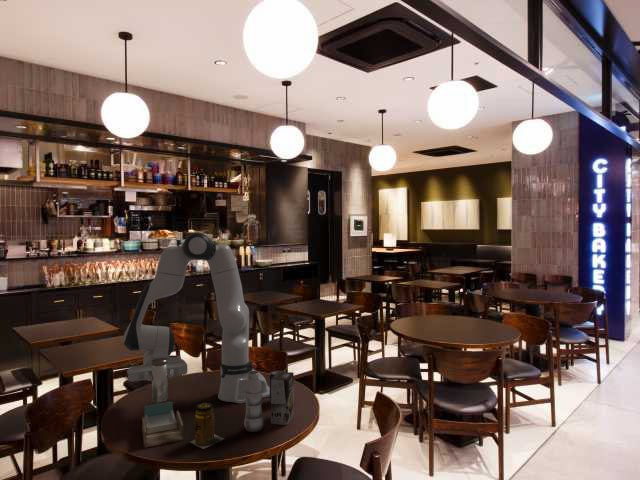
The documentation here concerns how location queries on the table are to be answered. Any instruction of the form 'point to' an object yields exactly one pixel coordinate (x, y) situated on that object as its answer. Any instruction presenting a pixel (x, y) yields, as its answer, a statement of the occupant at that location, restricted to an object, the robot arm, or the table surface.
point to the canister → (159, 379)
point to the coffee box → (282, 398)
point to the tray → (160, 417)
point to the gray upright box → (272, 377)
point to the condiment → (205, 426)
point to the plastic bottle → (253, 403)
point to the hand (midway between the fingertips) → (160, 377)
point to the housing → (163, 434)
